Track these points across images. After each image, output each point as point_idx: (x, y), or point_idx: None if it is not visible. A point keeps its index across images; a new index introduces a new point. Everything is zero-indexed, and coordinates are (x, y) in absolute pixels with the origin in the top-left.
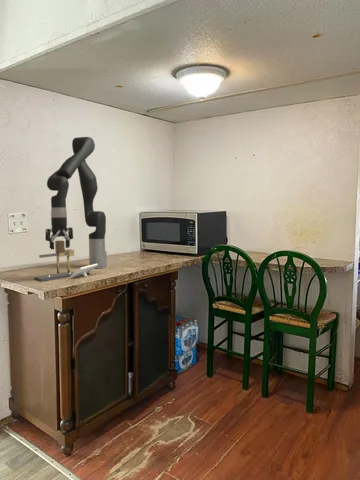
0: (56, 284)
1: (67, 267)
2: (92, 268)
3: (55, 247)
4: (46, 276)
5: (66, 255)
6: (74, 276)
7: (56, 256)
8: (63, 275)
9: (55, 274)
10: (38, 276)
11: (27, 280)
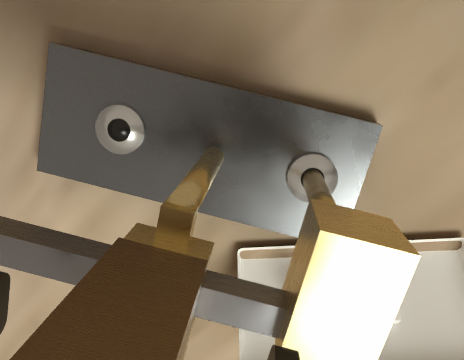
0: (48, 307)
1: (306, 192)
2: (444, 337)
3: (84, 278)
4: (100, 139)
5: (291, 259)
6: (260, 274)
7: (167, 199)
8: (216, 210)
9: (215, 120)
10: (81, 59)
11: (6, 28)
